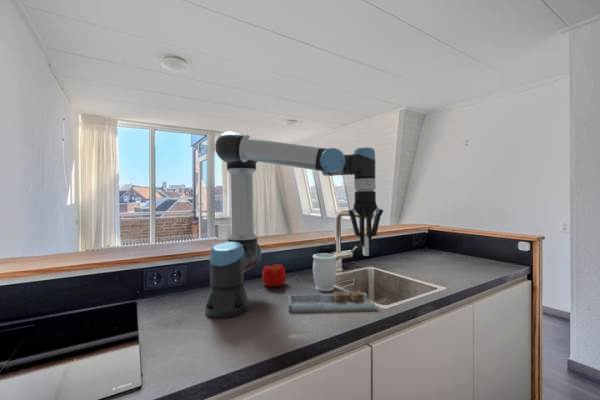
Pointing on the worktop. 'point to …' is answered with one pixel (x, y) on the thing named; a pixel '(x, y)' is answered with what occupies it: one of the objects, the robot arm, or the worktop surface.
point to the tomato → (274, 275)
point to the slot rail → (325, 303)
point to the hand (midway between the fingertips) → (365, 254)
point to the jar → (324, 271)
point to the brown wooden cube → (356, 296)
